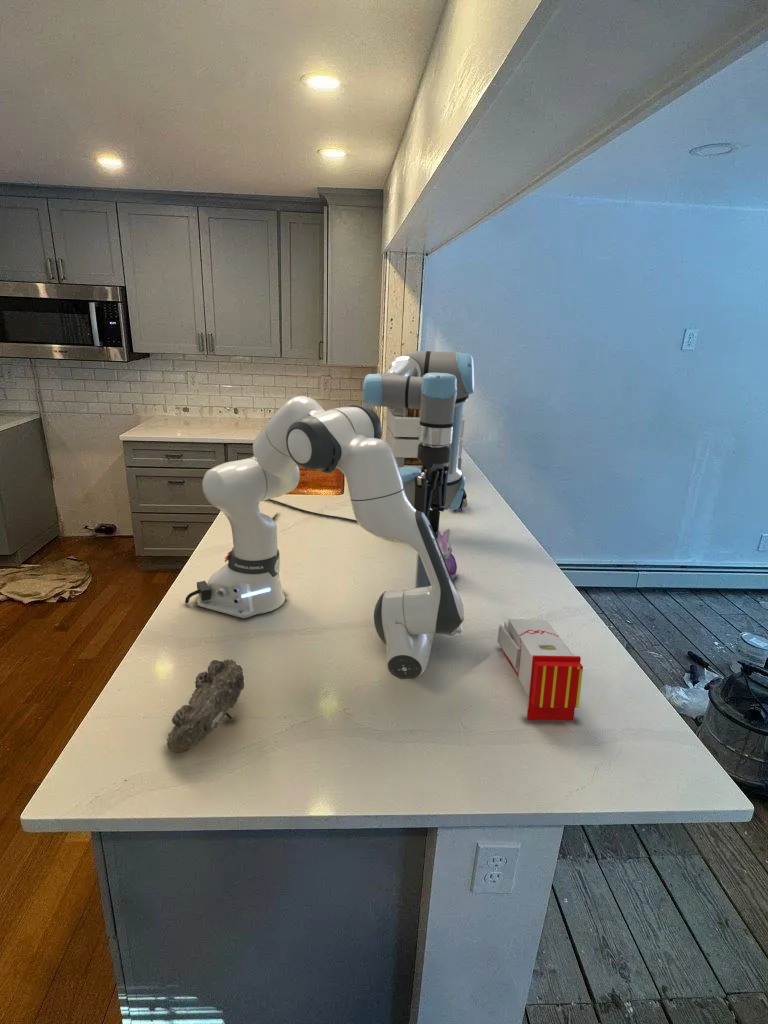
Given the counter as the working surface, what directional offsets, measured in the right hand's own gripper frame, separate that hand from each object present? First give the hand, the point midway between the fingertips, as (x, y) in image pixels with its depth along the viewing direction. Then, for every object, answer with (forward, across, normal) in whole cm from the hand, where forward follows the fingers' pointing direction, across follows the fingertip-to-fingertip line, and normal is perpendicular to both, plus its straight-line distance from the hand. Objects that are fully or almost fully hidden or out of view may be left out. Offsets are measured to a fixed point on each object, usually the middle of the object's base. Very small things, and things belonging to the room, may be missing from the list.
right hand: (427, 539), depth 136 cm
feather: (+23, -36, -80) cm, 91 cm away
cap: (-2, 0, 0) cm, 2 cm away
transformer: (+23, -123, -66) cm, 142 cm away
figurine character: (+23, -88, -30) cm, 96 cm away
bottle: (+23, 0, 0) cm, 23 cm away
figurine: (+23, -27, -7) cm, 36 cm away
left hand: (+17, -1, 0) cm, 17 cm away
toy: (+23, +6, +30) cm, 39 cm away
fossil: (+23, +54, -17) cm, 61 cm away
